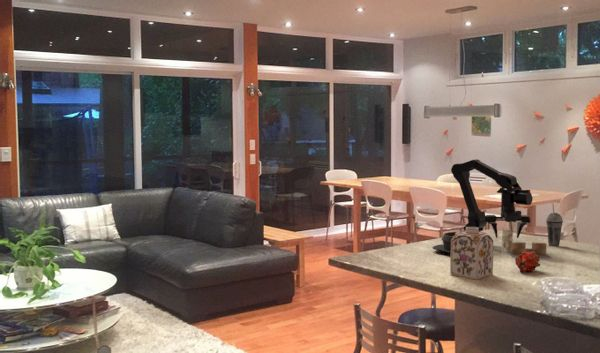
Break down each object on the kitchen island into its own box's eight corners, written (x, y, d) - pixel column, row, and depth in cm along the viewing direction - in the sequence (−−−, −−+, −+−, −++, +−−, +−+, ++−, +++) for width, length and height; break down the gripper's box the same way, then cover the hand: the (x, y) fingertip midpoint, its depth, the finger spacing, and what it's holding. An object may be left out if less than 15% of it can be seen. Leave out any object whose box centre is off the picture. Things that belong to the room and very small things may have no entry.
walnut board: (512, 254, 268) (512, 243, 268) (511, 253, 270) (511, 242, 270) (546, 255, 267) (546, 243, 266) (544, 254, 269) (545, 242, 268)
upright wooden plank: (507, 251, 277) (508, 231, 276) (501, 246, 289) (502, 227, 288) (512, 251, 277) (512, 231, 276) (506, 246, 289) (506, 227, 288)
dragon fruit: (535, 272, 244) (523, 282, 236) (518, 257, 248) (505, 267, 239) (548, 257, 240) (535, 267, 231) (529, 242, 243) (517, 251, 235)
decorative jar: (449, 275, 234) (449, 227, 233) (465, 270, 242) (466, 224, 241) (478, 280, 226) (478, 231, 224) (494, 275, 234) (495, 227, 232)
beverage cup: (565, 247, 287) (567, 203, 286) (553, 248, 285) (554, 204, 283) (554, 244, 294) (555, 202, 292) (541, 245, 291) (543, 202, 290)
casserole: (426, 254, 273) (426, 235, 273) (440, 247, 289) (441, 229, 288) (483, 260, 260) (483, 240, 259) (495, 252, 275) (495, 233, 275)
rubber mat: (512, 258, 263) (512, 257, 263) (506, 252, 276) (506, 251, 276) (552, 259, 261) (552, 258, 261) (543, 253, 274) (543, 251, 274)
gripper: (490, 205, 274) (489, 240, 276) (534, 205, 272) (533, 241, 274) (485, 202, 285) (484, 236, 287) (527, 202, 283) (526, 236, 285)
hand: (507, 237), depth 283 cm, fingers open, 9 cm apart
